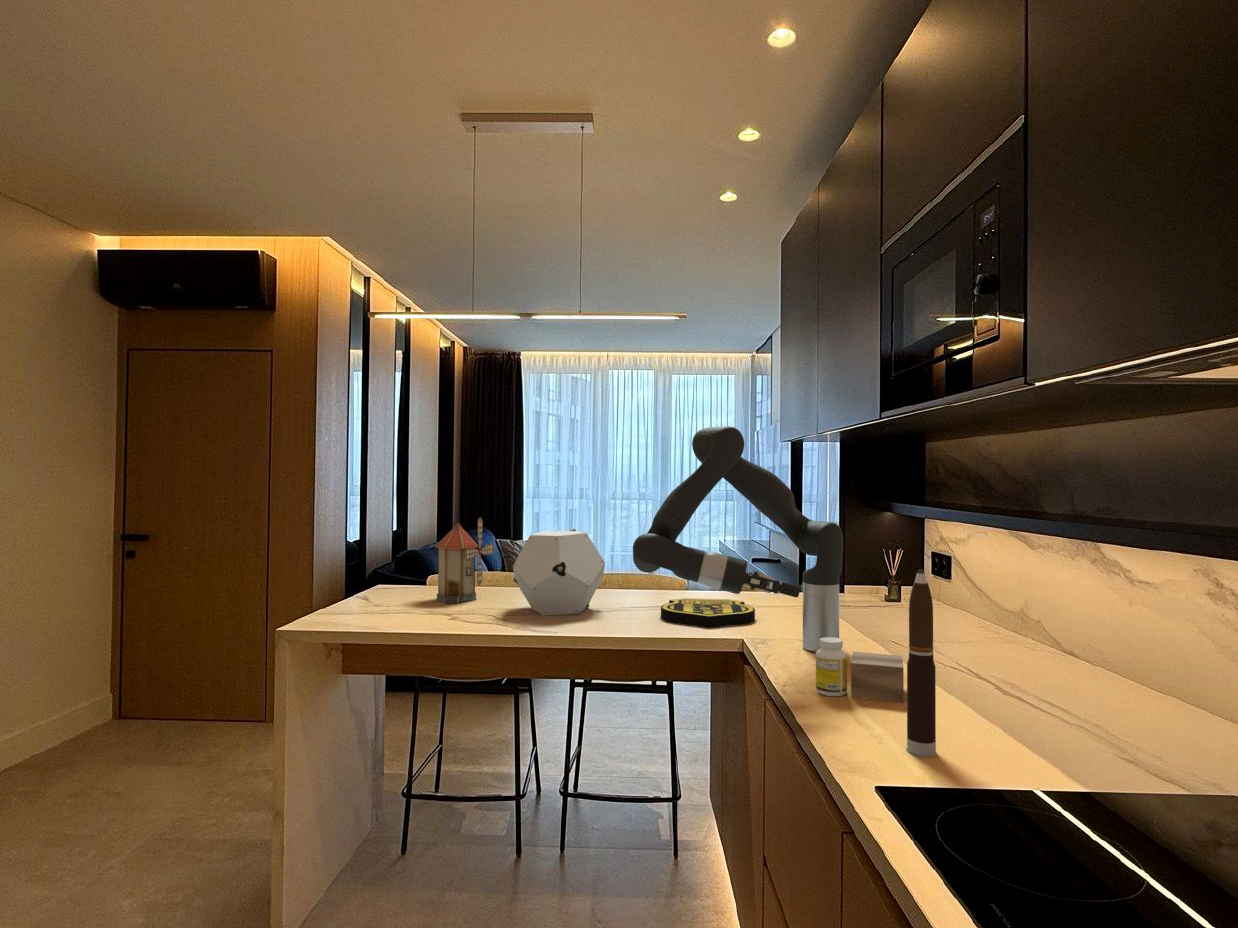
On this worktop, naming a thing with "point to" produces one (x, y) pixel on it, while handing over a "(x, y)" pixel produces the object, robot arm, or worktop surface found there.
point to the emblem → (707, 612)
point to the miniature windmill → (460, 565)
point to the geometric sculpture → (559, 571)
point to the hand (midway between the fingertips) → (796, 591)
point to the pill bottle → (831, 667)
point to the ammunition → (921, 672)
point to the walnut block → (877, 677)
